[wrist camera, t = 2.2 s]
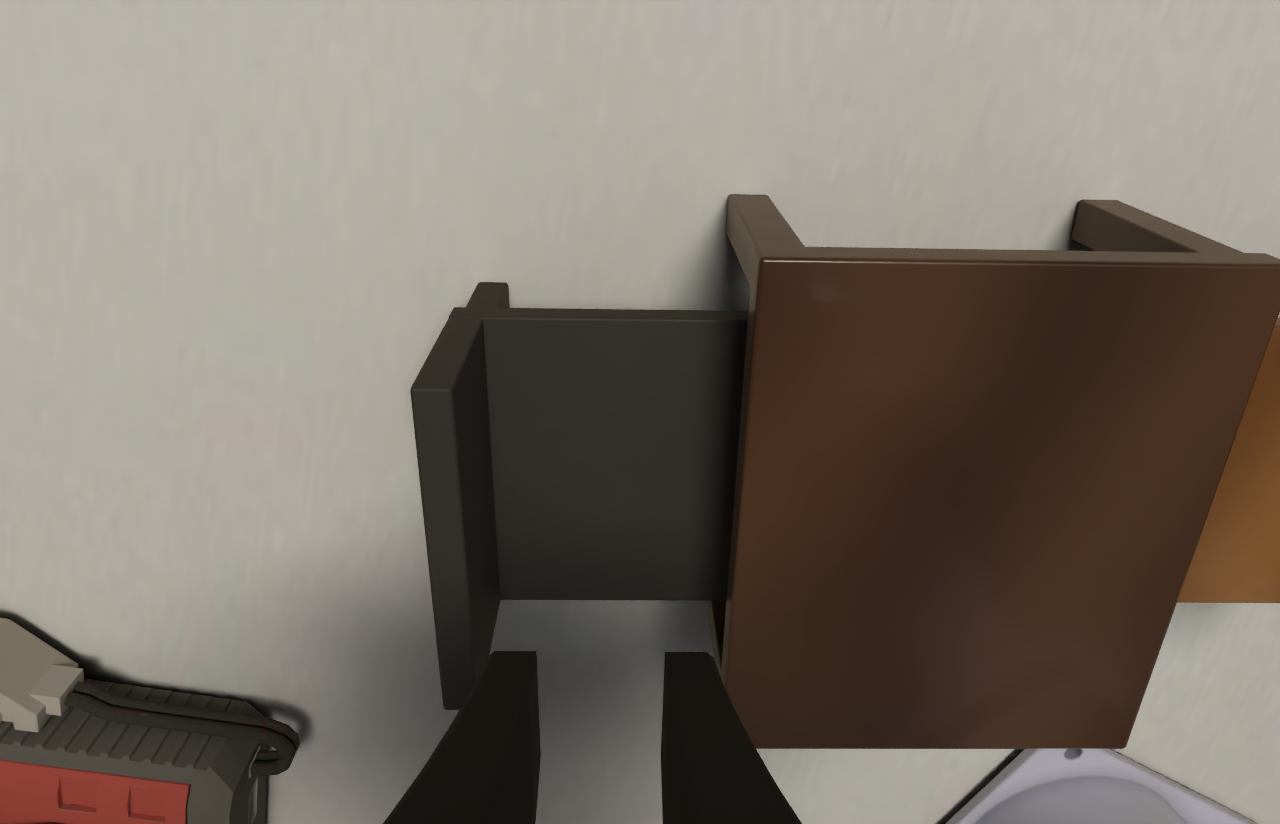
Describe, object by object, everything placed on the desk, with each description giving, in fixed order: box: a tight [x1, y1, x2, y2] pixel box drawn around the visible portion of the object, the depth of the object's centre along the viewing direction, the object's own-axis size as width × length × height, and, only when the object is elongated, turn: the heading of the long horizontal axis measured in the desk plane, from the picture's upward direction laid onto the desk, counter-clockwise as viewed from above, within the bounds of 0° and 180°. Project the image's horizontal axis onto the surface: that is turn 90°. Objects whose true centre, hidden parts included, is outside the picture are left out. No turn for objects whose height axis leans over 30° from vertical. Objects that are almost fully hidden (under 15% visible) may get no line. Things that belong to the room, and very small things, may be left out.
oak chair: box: [1177, 318, 1280, 603], centre depth 19 cm, size 8×7×6 cm
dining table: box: [706, 194, 1280, 749], centre depth 19 cm, size 9×11×6 cm
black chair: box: [410, 282, 749, 710], centre depth 19 cm, size 8×7×6 cm
